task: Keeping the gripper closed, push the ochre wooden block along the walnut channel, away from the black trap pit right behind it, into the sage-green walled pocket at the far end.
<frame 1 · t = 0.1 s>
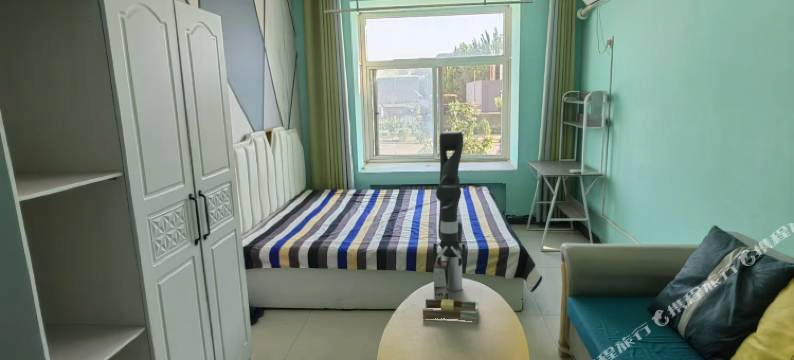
hand: (449, 265, 202), 17 cm above the table, tool pointing down, fingers open, 8 cm apart
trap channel: (451, 315, 193), on the table
coffee box: (442, 297, 210), on the table
ochre block: (447, 310, 193), point 2 cm above the table, touching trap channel
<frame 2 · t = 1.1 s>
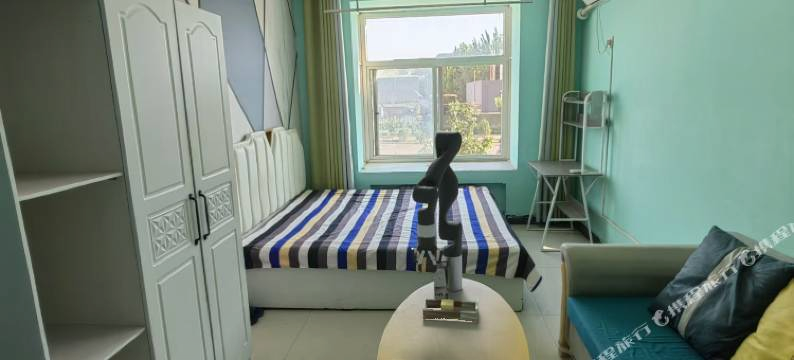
hand: (427, 271, 191), 19 cm above the table, tool pointing down, fingers open, 5 cm apart
nothing on the table moved.
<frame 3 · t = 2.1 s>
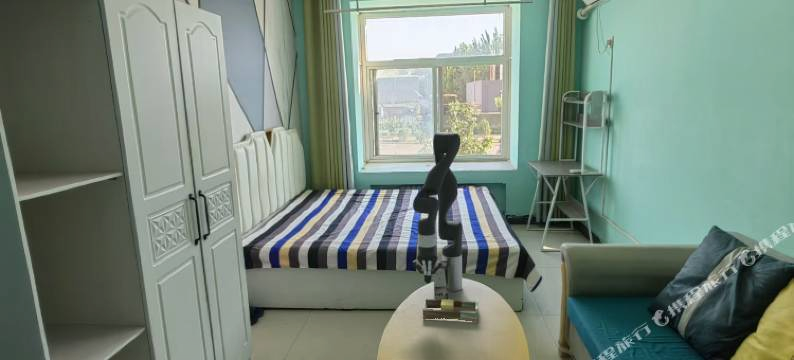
hand: (427, 282, 192), 15 cm above the table, tool pointing down, fingers closed
nothing on the table moved.
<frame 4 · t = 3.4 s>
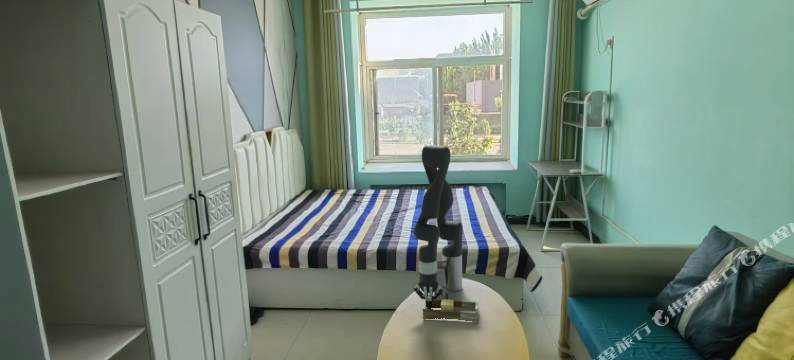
hand: (429, 307, 194), 3 cm above the table, tool pointing down, fingers closed
nothing on the table moved.
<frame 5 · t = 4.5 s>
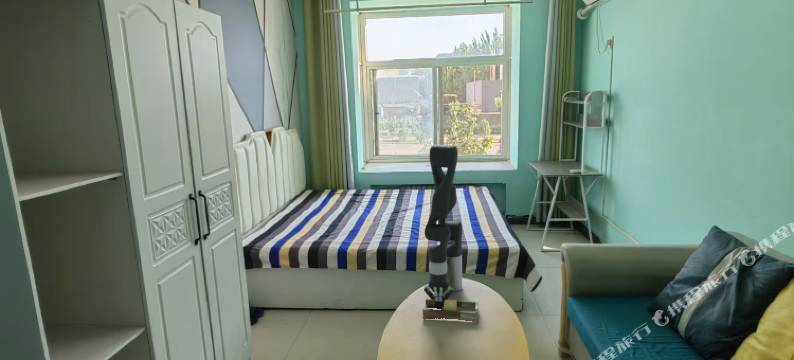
hand: (439, 308, 193), 3 cm above the table, tool pointing down, fingers closed
ochre block: (450, 311, 193), point 2 cm above the table, touching gripper
everything else where it was.
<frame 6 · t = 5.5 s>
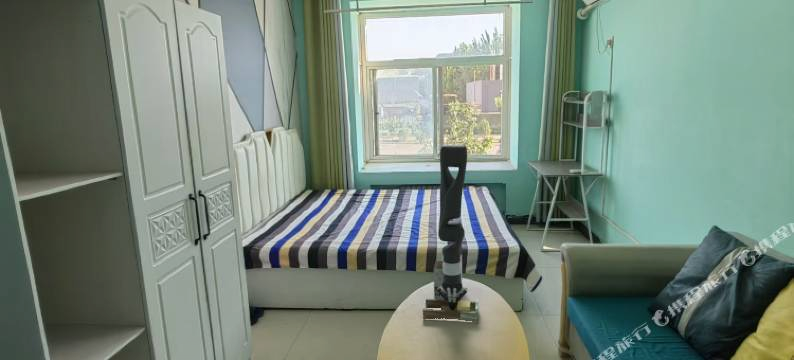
hand: (452, 309, 192), 3 cm above the table, tool pointing down, fingers closed
ochre block: (463, 312, 191), point 2 cm above the table, touching gripper
everything else where it was.
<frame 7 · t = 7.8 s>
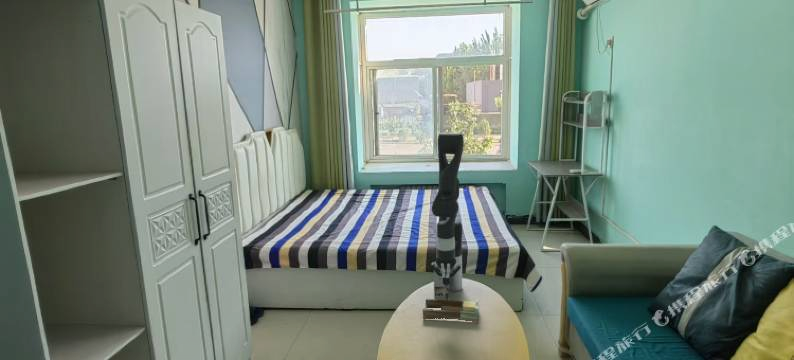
hand: (446, 284, 191), 14 cm above the table, tool pointing down, fingers closed
ochre block: (469, 312, 191), point 2 cm above the table, touching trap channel
everything else where it was.
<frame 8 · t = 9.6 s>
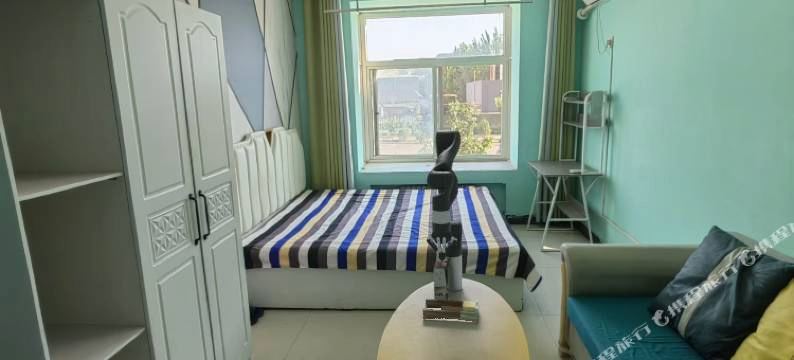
hand: (442, 260, 188), 25 cm above the table, tool pointing down, fingers closed
nothing on the table moved.
at the end: ochre block 0.6 cm from the target spot, point 2.0 cm above the table; ochre block tilted 0° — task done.
